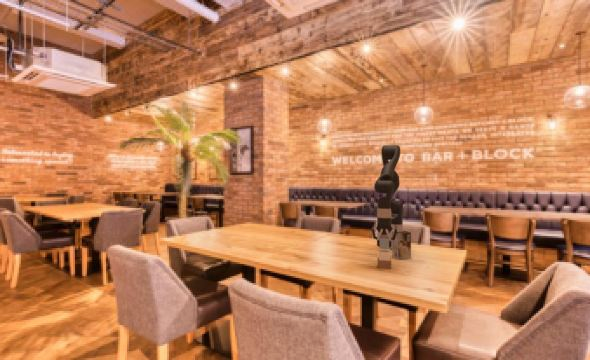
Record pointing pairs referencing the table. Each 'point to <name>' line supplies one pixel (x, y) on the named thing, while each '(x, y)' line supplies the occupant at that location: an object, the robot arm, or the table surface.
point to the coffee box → (401, 245)
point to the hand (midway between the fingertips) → (384, 246)
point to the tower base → (384, 264)
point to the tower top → (384, 255)
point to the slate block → (383, 242)
